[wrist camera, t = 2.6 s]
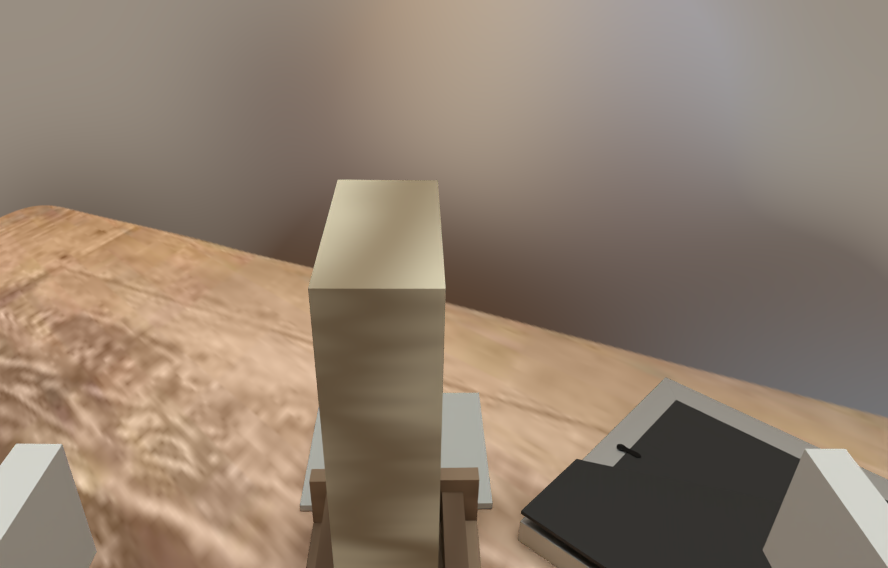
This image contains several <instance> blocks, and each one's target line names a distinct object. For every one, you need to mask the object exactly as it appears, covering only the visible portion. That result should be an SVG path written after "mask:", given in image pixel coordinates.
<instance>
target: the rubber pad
mask: <svg viewBox="0 0 888 568" xmlns="http://www.w3.org/2000/svg"><path fill="white" fill-rule="evenodd" d="M469 467H478V471H479V494H478V509H492V496H491V488H490V480H489V472H488V463H487V455H486V447H485V439H484V431H483V423H482V415H481V407H480V399H479V393H443V401H442V439H441V468H469ZM311 469H325V466H324V455H323V444H322V434H321V423H320V412H319V408H318V413H317V419H316V424H315V429H314V434H313V440H312V445H311V450H310V455H309V461H308V466H307V471H306V476H305V482H304V487H303V492H302V497H301V503H300V510H301V511H312V503H311V494H310V485H309V480H310V474H311Z"/></svg>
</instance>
